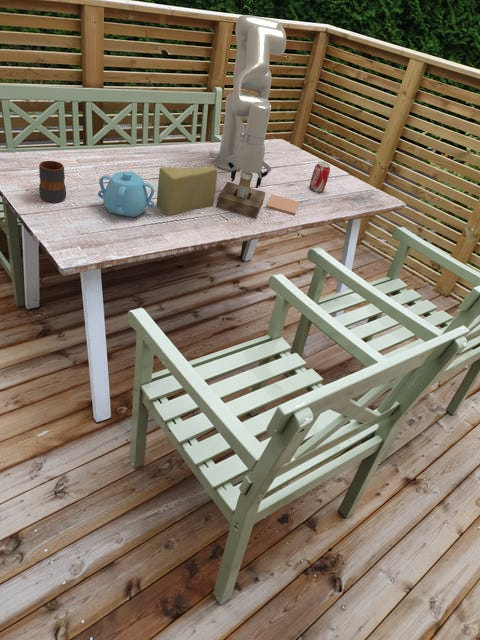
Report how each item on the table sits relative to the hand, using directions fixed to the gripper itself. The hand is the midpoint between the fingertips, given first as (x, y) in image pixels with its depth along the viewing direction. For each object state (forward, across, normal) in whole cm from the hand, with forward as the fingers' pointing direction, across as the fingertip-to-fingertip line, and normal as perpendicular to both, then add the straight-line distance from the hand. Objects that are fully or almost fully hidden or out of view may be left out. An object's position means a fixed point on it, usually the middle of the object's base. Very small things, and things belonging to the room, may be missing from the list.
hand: (245, 183), depth 187 cm
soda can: (+9, +28, +38) cm, 48 cm away
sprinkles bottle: (+9, 0, +1) cm, 9 cm away
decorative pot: (+10, -36, -28) cm, 47 cm away
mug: (+10, -62, -33) cm, 71 cm away
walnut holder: (+9, 0, +1) cm, 9 cm away
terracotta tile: (+9, +16, +11) cm, 21 cm away
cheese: (+10, -18, -14) cm, 24 cm away
